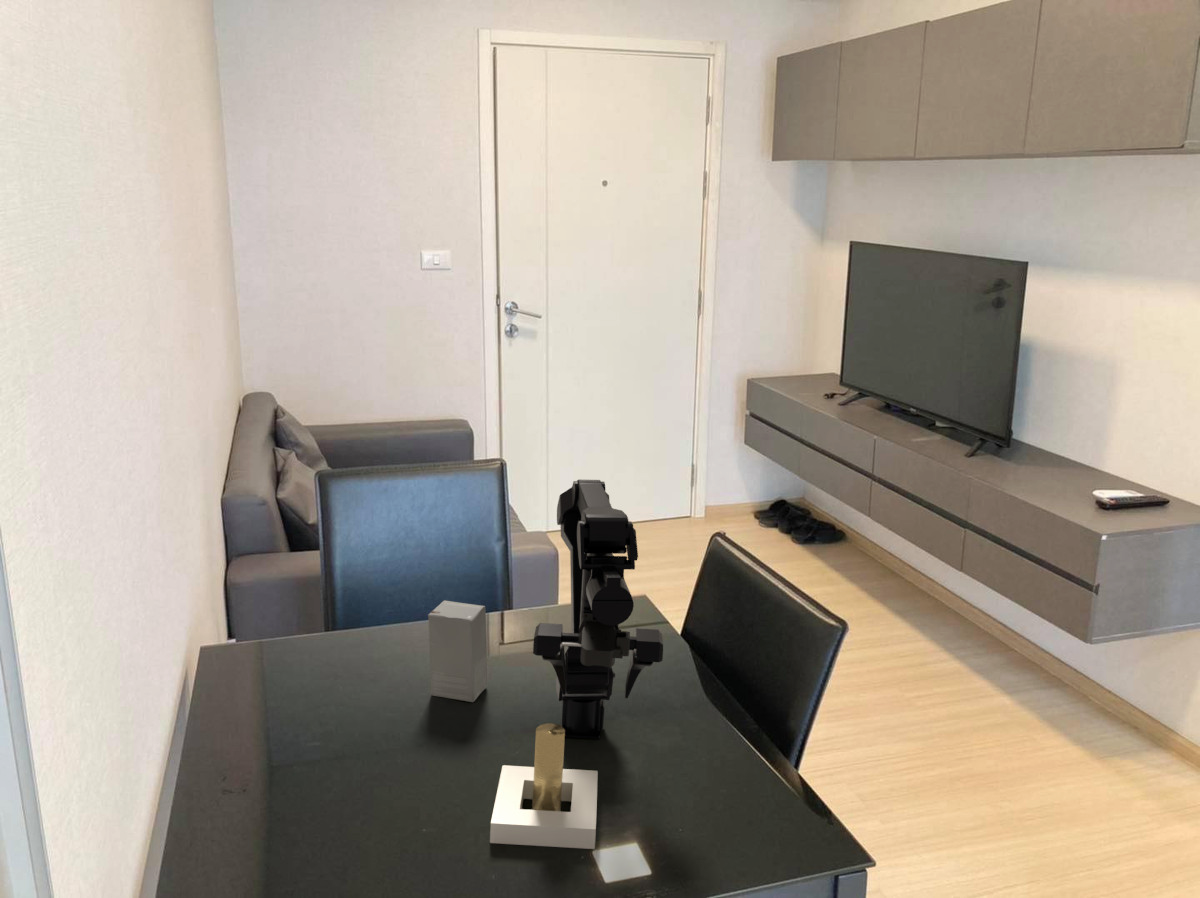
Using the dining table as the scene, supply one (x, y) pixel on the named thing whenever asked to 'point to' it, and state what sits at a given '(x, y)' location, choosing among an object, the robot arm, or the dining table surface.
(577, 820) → the socket block
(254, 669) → the dining table surface
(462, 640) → the skincare box
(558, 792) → the brass tube
